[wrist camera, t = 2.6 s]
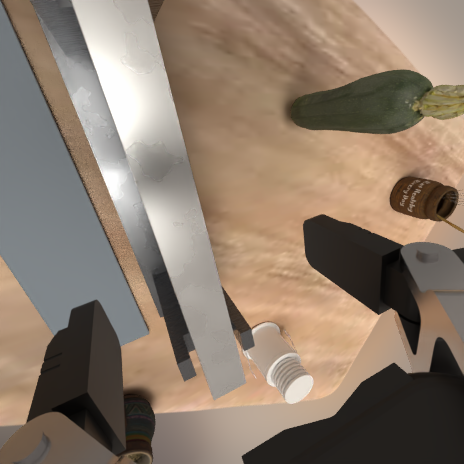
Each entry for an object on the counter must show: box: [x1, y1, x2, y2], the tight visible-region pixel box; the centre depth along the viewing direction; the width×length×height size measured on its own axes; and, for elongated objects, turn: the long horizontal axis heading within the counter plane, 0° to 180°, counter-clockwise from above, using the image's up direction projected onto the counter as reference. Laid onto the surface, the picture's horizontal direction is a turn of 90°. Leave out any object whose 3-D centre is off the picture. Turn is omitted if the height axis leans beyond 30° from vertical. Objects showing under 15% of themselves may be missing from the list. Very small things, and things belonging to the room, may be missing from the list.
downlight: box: [242, 322, 313, 404], centre depth 40 cm, size 8×7×10 cm
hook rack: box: [30, 0, 255, 381], centre depth 23 cm, size 34×8×14 cm, turn 12°
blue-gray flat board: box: [0, 0, 149, 346], centre depth 26 cm, size 38×9×1 cm, turn 12°
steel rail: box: [70, 0, 246, 400], centre depth 17 cm, size 32×3×3 cm, turn 12°
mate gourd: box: [115, 395, 155, 464], centre depth 34 cm, size 7×8×10 cm
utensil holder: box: [390, 177, 464, 233], centre depth 40 cm, size 6×6×12 cm
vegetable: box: [291, 70, 464, 134], centre depth 24 cm, size 4×4×20 cm
